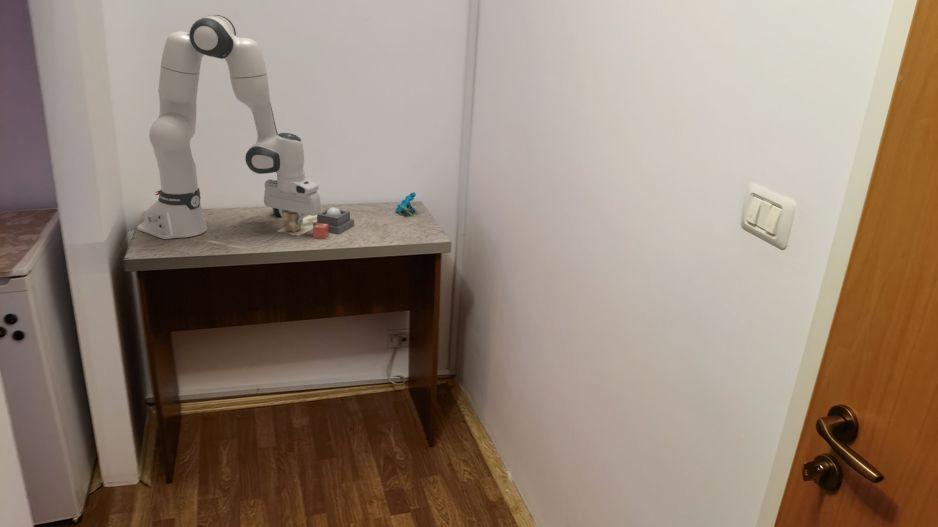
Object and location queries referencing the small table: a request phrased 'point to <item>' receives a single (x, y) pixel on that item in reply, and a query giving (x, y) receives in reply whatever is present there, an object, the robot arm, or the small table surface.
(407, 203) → the blue lobed plastic figure
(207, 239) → the small table surface
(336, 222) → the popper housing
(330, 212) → the dome
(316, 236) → the die
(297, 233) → the board
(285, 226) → the pawn
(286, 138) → the robot arm
